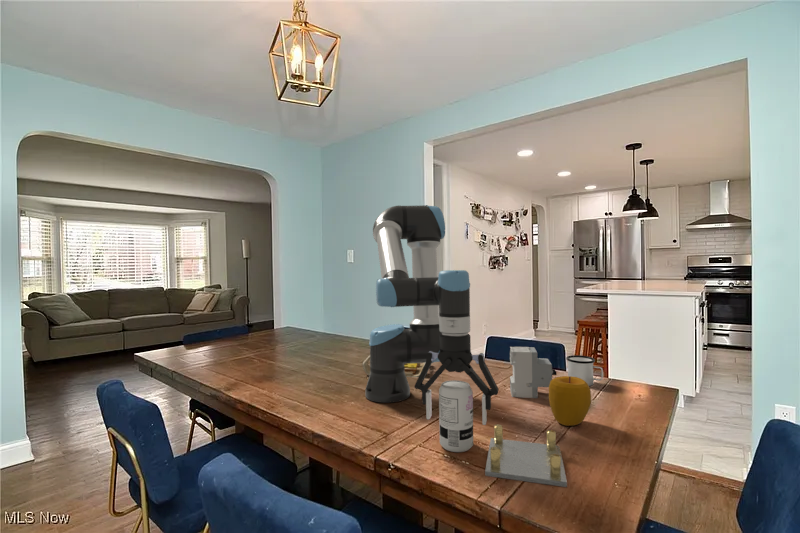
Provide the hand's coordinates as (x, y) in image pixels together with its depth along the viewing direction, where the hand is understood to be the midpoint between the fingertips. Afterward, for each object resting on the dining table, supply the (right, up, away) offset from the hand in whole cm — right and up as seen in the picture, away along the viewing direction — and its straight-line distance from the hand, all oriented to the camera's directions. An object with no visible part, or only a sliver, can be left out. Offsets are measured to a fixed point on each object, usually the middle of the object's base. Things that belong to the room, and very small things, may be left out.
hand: (456, 420), depth 97 cm
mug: (+53, -5, +46) cm, 70 cm away
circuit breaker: (+31, -5, +36) cm, 48 cm away
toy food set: (-15, -6, +68) cm, 70 cm away
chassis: (+14, -6, -8) cm, 17 cm away
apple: (+33, -6, +12) cm, 36 cm away
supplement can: (0, -7, 0) cm, 7 cm away
